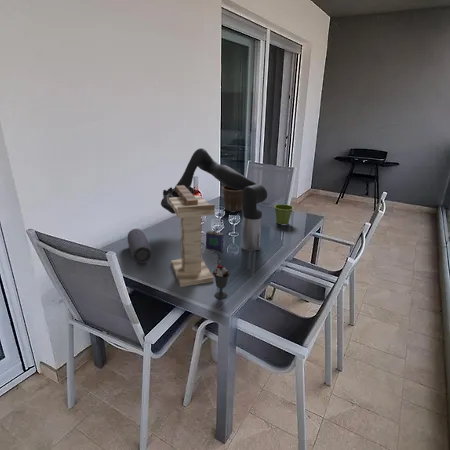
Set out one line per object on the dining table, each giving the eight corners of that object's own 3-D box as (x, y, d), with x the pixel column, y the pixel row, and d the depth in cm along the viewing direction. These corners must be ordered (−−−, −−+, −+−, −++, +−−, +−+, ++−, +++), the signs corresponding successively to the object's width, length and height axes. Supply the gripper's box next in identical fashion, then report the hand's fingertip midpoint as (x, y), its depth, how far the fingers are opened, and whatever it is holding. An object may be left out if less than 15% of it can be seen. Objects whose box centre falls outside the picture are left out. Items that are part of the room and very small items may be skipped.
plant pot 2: (294, 223, 200) (296, 206, 196) (287, 228, 191) (289, 211, 186) (277, 219, 206) (278, 202, 202) (269, 224, 196) (271, 207, 192)
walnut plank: (175, 190, 144) (175, 185, 144) (184, 190, 146) (184, 185, 145) (187, 206, 124) (187, 200, 123) (197, 206, 125) (197, 200, 124)
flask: (223, 249, 162) (224, 229, 158) (222, 251, 160) (222, 232, 156) (206, 246, 164) (206, 227, 161) (204, 249, 162) (204, 229, 158)
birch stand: (171, 264, 146) (168, 193, 133) (200, 260, 150) (200, 191, 138) (180, 287, 128) (178, 207, 116) (213, 281, 133) (214, 204, 120)
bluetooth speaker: (127, 246, 162) (125, 228, 158) (145, 244, 165) (144, 226, 162) (132, 267, 142) (130, 247, 139) (153, 264, 146) (151, 244, 142)
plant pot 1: (242, 214, 212) (243, 191, 206) (219, 212, 215) (219, 189, 209) (246, 207, 226) (247, 185, 221) (224, 205, 230) (225, 183, 224)
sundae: (211, 290, 126) (212, 257, 121) (228, 290, 127) (229, 257, 122) (212, 300, 120) (213, 266, 115) (230, 300, 121) (231, 265, 115)
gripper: (160, 191, 156) (164, 181, 141) (188, 189, 161) (195, 179, 145) (161, 206, 155) (166, 198, 140) (190, 203, 160) (197, 195, 144)
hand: (180, 188), depth 143 cm, fingers open, 8 cm apart
